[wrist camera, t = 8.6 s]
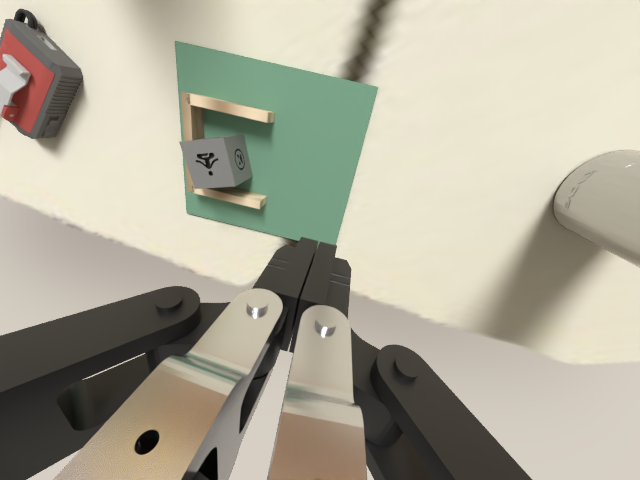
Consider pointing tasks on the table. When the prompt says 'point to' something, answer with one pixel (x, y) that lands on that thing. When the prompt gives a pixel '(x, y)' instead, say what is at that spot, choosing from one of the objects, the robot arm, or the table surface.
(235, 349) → the robot arm
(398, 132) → the table surface
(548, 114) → the table surface
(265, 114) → the wooden u-shaped frame
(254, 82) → the green mat
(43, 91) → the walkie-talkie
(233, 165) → the dice cube
